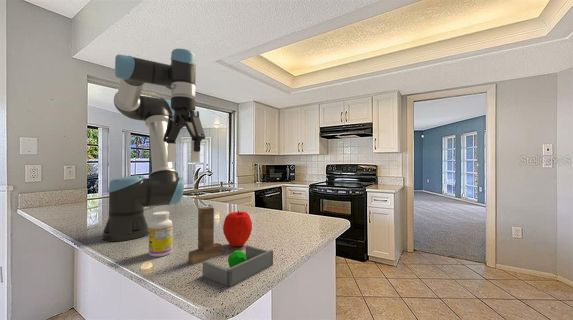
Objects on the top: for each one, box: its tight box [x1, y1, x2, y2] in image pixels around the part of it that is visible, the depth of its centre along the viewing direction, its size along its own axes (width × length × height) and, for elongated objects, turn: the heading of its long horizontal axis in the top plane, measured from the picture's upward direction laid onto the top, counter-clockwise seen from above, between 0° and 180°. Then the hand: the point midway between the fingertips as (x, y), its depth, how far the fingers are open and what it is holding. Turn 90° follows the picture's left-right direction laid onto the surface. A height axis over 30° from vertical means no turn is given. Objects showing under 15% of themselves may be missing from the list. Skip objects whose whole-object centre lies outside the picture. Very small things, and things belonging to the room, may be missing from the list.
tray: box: [202, 244, 274, 288], centre depth 67 cm, size 10×16×4 cm, turn 144°
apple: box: [222, 210, 253, 247], centre depth 87 cm, size 10×10×12 cm
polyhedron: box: [227, 250, 248, 268], centre depth 68 cm, size 5×5×5 cm
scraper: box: [187, 206, 223, 265], centre depth 76 cm, size 3×10×15 cm, turn 144°
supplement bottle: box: [148, 210, 173, 258], centre depth 79 cm, size 7×7×13 cm
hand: (182, 162), depth 83 cm, fingers open, 13 cm apart
